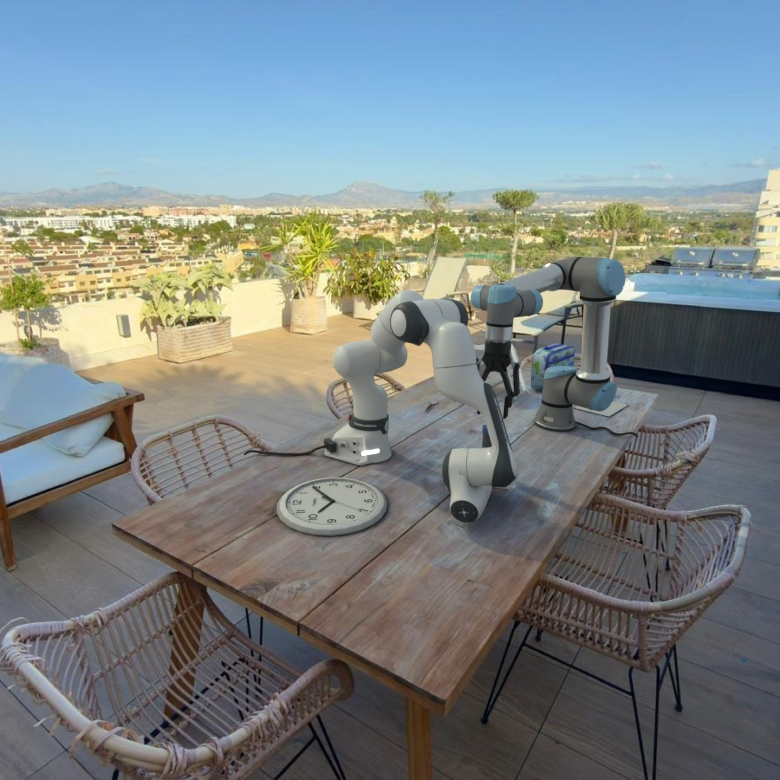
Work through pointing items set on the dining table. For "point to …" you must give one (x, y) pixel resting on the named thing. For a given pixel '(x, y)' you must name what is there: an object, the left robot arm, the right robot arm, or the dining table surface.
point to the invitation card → (609, 411)
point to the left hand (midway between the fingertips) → (485, 463)
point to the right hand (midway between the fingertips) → (492, 415)
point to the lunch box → (550, 361)
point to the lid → (485, 430)
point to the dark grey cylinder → (486, 441)
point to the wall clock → (331, 506)
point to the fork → (432, 403)
